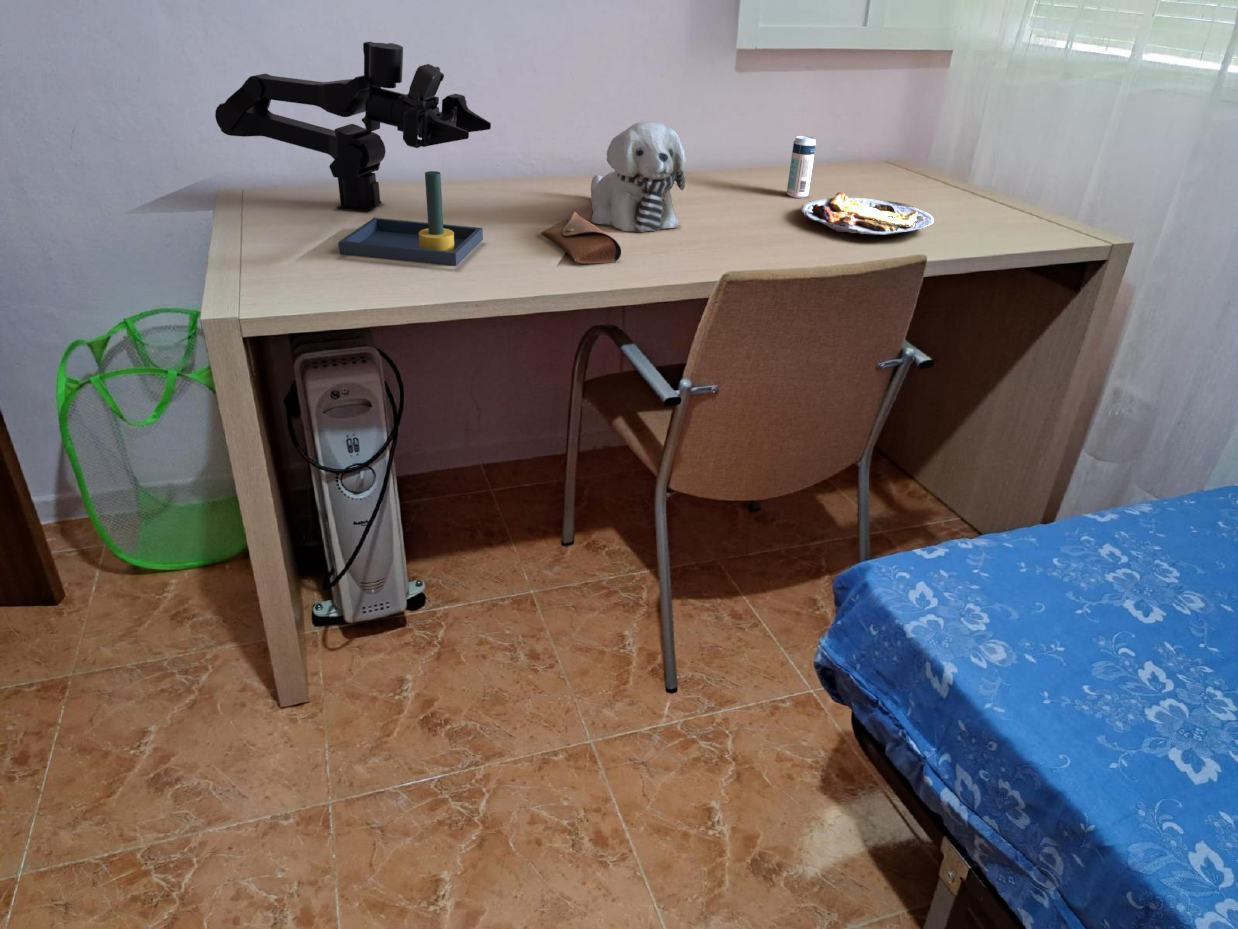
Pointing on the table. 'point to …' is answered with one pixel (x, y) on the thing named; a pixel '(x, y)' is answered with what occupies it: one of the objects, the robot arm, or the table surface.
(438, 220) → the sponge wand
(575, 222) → the sunglasses case
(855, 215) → the food plate
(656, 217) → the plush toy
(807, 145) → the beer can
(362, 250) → the tray
